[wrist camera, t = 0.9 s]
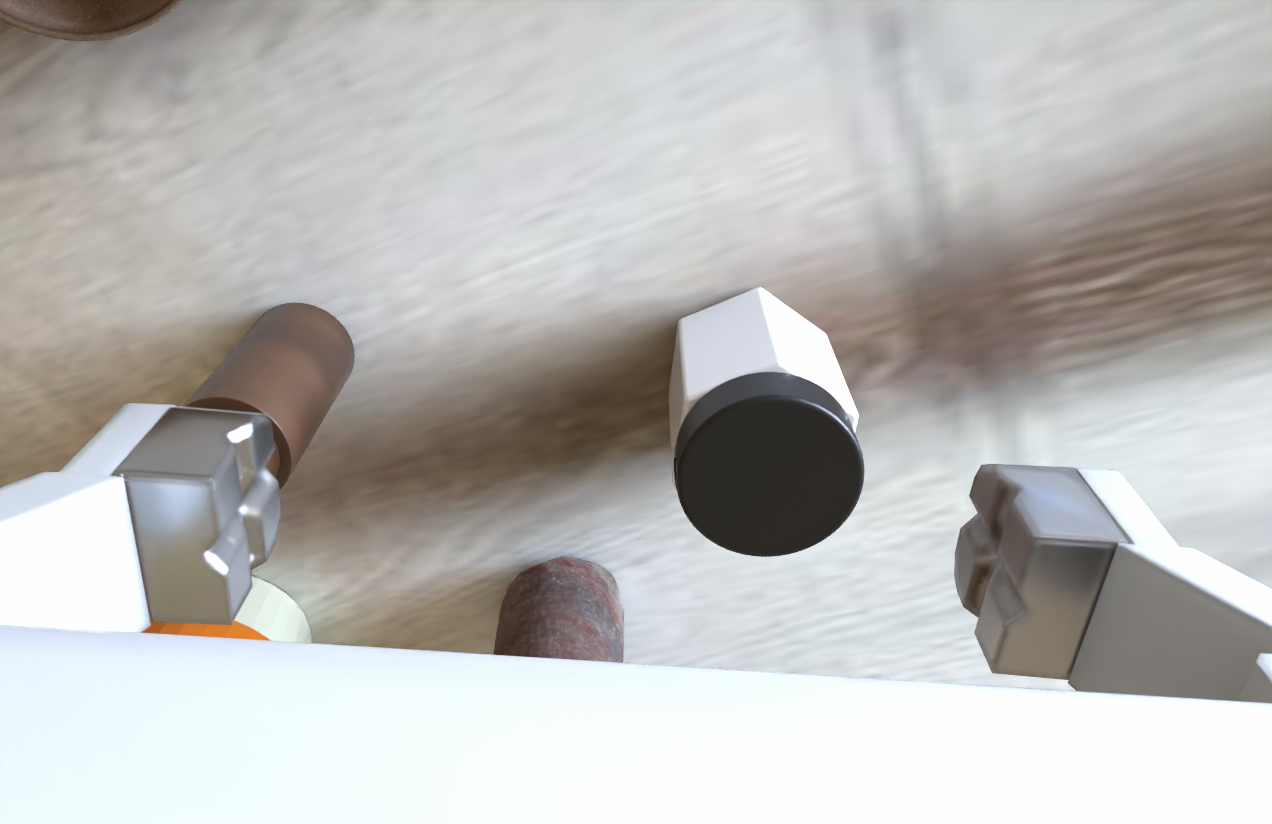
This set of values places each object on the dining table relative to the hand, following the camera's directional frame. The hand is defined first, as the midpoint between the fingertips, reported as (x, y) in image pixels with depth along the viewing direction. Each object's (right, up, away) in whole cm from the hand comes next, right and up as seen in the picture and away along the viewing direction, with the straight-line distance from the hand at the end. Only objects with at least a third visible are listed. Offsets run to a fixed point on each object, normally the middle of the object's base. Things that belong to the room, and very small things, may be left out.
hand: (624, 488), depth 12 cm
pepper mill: (-18, +4, +43) cm, 46 cm away
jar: (+6, +3, +43) cm, 43 cm away
